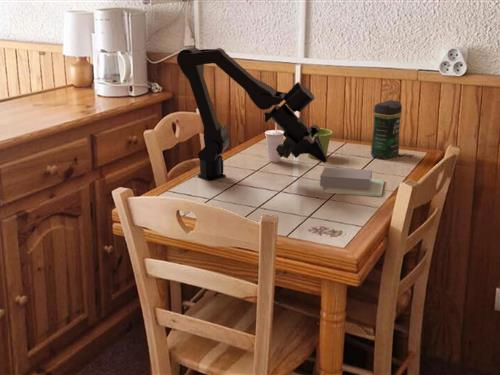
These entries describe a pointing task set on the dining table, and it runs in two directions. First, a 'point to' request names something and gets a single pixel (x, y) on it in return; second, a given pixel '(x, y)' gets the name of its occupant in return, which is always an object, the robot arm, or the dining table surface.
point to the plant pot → (323, 140)
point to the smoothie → (274, 143)
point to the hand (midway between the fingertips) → (326, 161)
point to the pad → (374, 190)
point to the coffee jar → (386, 129)
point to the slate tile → (346, 178)
